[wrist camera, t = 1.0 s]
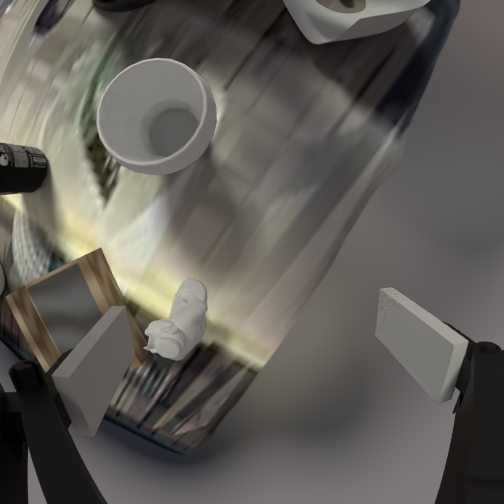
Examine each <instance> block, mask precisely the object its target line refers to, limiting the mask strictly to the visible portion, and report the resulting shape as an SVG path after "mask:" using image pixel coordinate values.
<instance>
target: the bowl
mask: <svg viewBox="0 0 504 504" xmlns="http://www.w3.org/2000/svg"><path fill="white" fill-rule="evenodd" d="M365 1H366V8H365V10H364V11H362V12H359V13H353V14H343V13H337V12H334V11H331V10H329V9H327V8H325V7H324V6H322V5H320V4H319V3H317V2H316V1H315V0H283V2H284V4H285V6H286V7H287V9H288V11H289V13H290V14H291V16H292V18H293V19H294V21H295V23H296V24H297V26H298V27H299V29H300V30H301V32H302V33H303V35H304V36H305V37H306V38H307V39H308V40H309V41H310V42H311V43H314V44H323V43H329V42H335V41H342V40H348V39H355V38H361V37H366V36H371V35H376V34H379V33H383V32H386V31H389V30H391V29H393V28H395V27H397V26H399V25H400V24H402V23H403V22H404V21H406V20H407V19H408V18H409V17H410V16H412V15H413V14H414V13H415V12H416V11H418V10H419V9H420V8H421V7H423V6H424V5H425V4H426V3H427V2H429V1H430V0H365Z"/></svg>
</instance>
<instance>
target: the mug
mask: <svg viewBox="0 0 504 504" xmlns="http://www.w3.org/2000/svg"><path fill="white" fill-rule="evenodd" d="M4 285H5V277H4V272H3V268H2V266H1V264H0V295H1V294H2V292H3V290H4Z"/></svg>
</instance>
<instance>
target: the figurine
mask: <svg viewBox="0 0 504 504" xmlns="http://www.w3.org/2000/svg"><path fill="white" fill-rule="evenodd" d="M205 298H206V289H205V286H204V284H203V283H202V282H201V281H200V280H198V279H195V278H188V279H186V280H185V281H183V282H182V284H181V285H180V287H179V289H178V291H177V293H176V294H175V298H174V301H173V305H172V308H171V309H172V310H171V312H170V316H169V320H168V319H161V320H158V321H154V322H152V323H150V324H149V326H148V328H147V329H146V330H145V334H146V335H147V336H149V340H148V345H147V347H144V349H146V350H150V351H151V352H152V353H159V354H160V355H161V356H162V357H165V358H169V359H173V360H175V361H178V360H182V359H183V358H184V357H185V355H186V354H187V353H189V352H190V351H191V350H192V349H193V348H194V346H195V345H196V344H197V343H199V342H200V340H201V339H202V337H203V334H204V330H205V327H206V318H205V315H204V314H205V312H206V311H207V305H206V303H205Z"/></svg>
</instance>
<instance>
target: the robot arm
mask: <svg viewBox="0 0 504 504" xmlns="http://www.w3.org/2000/svg"><path fill="white" fill-rule="evenodd" d="M92 1H93V2H94V4H95V5H96V6H98V7H99V8H101V9H103V10H106V11H113V12H120V11H128V10H133V9H136V8H139V7H142V6H145V5H147V4H149V3H151V2H153V1H155V0H92ZM375 336H376V337H377V338H378V339H379V340H380V341H381V342H382V343H383V344H384V345H385V347H386V348H387V349H388V350H389V351H390V352H391V353H392V354H393V355H394V356H395V358H396V359H397V360H398V361H399V362H400V363H401V364H402V365H403V366H404V367H405V368H406V370H407V371H408V372H409V373H410V374H411V375H412V376H413V378H414V379H415V380H416V381H417V382H418V383H419V384H420V385H421V387H422V388H424V390H425V391H426V392H427V393H428V395H429V396H430V397H431V398H432V399H433V400H434V401H435V403H436V404H440V403H443V402H445V401H448V400H451V398H452V396H453V392H454V390H455V387H456V388H457V389H458V390H459V391H460V394H459V397H458V400H457V403H456V405H455V408H454V411H453V413H455V412H456V415H455V421H454V427H453V433H452V438H451V443H450V448H449V452H448V457H447V461H446V465H445V469H444V473H443V477H442V481H441V484H440V488H439V491H438V494H437V498H436V501H435V504H504V350H501V348H500V347H499V346H498V345H496V344H494V343H492V342H483V341H482V342H478V343H475V342H474V341H473V340H471V339H470V338H468V337H467V336H466V335H464V334H463V333H461V332H460V331H459V330H456V328H454V327H453V326H452V325H450V324H448V323H445V322H443V321H440V320H439V319H437V318H436V317H434V316H433V315H432V314H430V313H429V312H427V311H426V310H424V309H423V308H421V307H420V306H418V305H417V304H416V303H414V302H413V301H411V300H410V299H408V298H407V297H406V296H404V295H403V294H401V293H400V292H398V291H397V290H395V289H394V288H392V287H390V288H382V289H380V292H379V305H378V315H377V324H376V333H375ZM134 355H135V350H134V345H133V341H132V336H131V332H130V327H129V322H128V317H127V312H126V306H112V307H111V308H110V309H109V310H108V311H107V312H106V313H105V314H104V315H103V317H102V318H101V319H100V320H99V321H98V322H97V323H96V324H95V325H94V327H93V328H92V329H91V330H90V331H89V332H88V333H87V334H86V336H85V337H84V338H83V339H82V340H81V341H80V342H79V344H78V345H77V346H76V347H75V348H74V349H70V350H68V351H66V352H65V353H63V354H62V355H61V356H60V357H59V358H58V359H57V361H56V362H55V363H54V364H53V366H51V367H50V369H49V370H48V371H47V372H46V373H45V374H44V375H43V372H42V370H41V367H40V364H39V363H38V362H37V361H35V360H23V361H20V362H18V363H16V364H14V365H13V366H12V367H11V368H10V369H9V375H10V377H11V380H12V382H13V384H14V387H15V389H16V391H17V392H5V391H4V389H3V387H2V385H1V384H0V504H28V481H27V480H28V472H27V471H28V470H27V468H28V447H29V451H30V454H31V458H32V461H33V464H34V468H35V471H36V474H37V477H38V480H39V483H40V486H41V488H42V491H43V494H44V496H45V499H46V502H47V504H107V502H106V501H105V499H104V497H103V496H102V494H101V492H100V491H99V489H98V487H97V486H96V484H95V482H94V480H93V479H92V477H91V475H90V473H89V471H88V470H87V468H86V466H85V464H84V462H83V460H82V458H81V456H80V454H79V452H78V450H77V448H76V446H75V444H74V442H73V439H72V437H71V435H70V433H69V431H68V428H69V426H70V424H71V423H72V425H73V427H74V429H75V431H76V433H77V434H81V435H86V436H93V437H94V435H95V433H96V431H97V429H98V426H99V424H100V422H101V420H102V418H103V416H104V414H105V412H106V410H107V408H108V406H109V404H110V402H111V400H112V398H113V396H114V394H115V392H116V390H117V388H118V386H119V384H120V382H121V380H122V378H123V376H124V374H125V372H126V370H127V368H128V366H129V364H130V362H131V360H132V358H133V356H134Z"/></svg>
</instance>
